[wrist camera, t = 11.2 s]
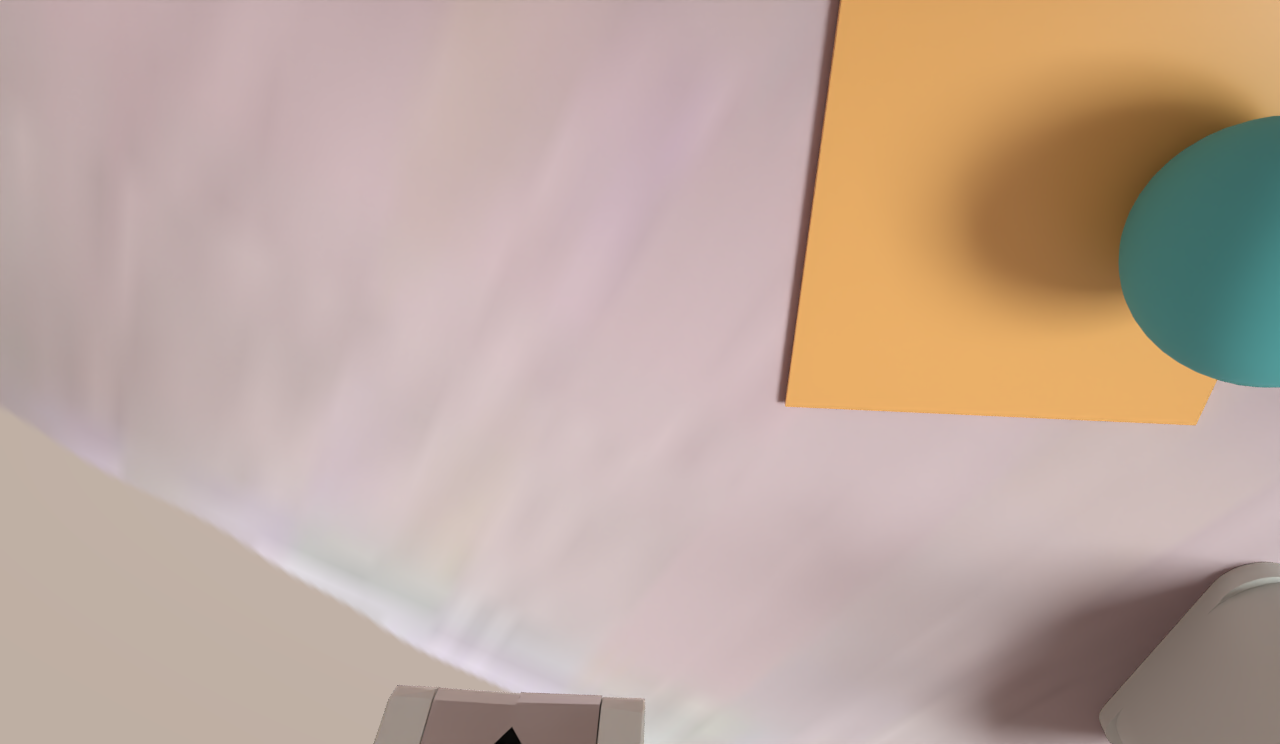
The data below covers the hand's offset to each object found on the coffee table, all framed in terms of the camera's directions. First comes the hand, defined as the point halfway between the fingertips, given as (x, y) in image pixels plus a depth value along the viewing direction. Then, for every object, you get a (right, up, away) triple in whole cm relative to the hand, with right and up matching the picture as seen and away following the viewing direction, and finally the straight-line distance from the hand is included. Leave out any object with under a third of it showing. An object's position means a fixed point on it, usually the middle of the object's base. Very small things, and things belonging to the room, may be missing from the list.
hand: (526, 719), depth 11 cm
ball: (+16, +7, +9) cm, 19 cm away
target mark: (+12, +8, +12) cm, 19 cm away
